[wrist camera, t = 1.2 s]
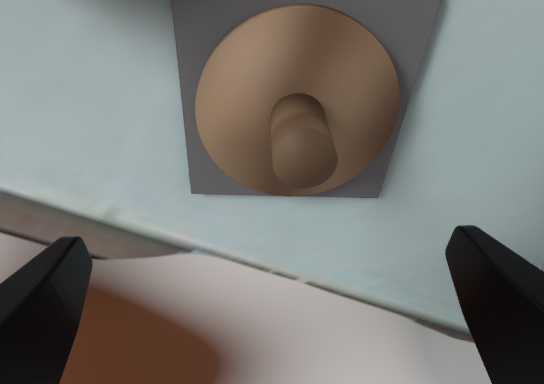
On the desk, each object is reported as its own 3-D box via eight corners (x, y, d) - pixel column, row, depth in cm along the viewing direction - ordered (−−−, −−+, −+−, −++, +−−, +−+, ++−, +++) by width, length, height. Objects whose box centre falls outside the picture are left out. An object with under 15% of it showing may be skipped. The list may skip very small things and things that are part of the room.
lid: (420, 9, 17) (469, 44, 13) (369, 188, 23) (391, 247, 19) (189, -4, 16) (167, 29, 12) (203, 184, 23) (192, 244, 19)
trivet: (438, -12, 17) (443, -9, 16) (375, 192, 24) (378, 197, 24) (171, -28, 16) (168, -26, 15) (192, 187, 23) (191, 193, 23)
